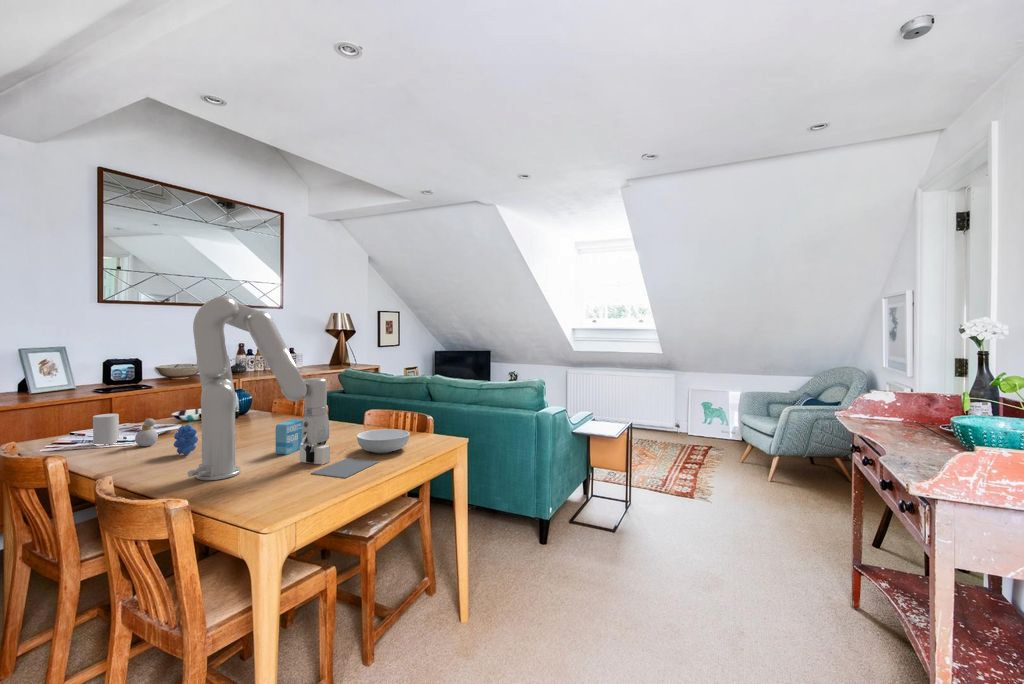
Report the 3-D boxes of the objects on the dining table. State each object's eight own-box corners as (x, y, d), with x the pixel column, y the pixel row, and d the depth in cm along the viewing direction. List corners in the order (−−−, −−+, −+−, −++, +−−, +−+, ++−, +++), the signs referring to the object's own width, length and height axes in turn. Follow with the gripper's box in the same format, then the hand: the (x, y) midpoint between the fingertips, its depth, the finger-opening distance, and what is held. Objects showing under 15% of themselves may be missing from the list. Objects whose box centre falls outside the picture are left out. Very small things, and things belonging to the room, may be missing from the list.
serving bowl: (420, 448, 194) (420, 432, 193) (382, 460, 176) (382, 442, 175) (384, 441, 204) (384, 426, 204) (345, 452, 186) (345, 435, 186)
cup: (122, 443, 196) (121, 415, 196) (97, 447, 189) (97, 418, 189) (114, 440, 200) (114, 412, 200) (90, 444, 193) (89, 415, 193)
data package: (285, 455, 180) (285, 425, 180) (275, 455, 181) (275, 424, 181) (304, 448, 192) (304, 419, 192) (294, 447, 193) (294, 418, 193)
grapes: (207, 453, 181) (207, 423, 181) (190, 458, 175) (190, 426, 175) (186, 450, 185) (186, 421, 185) (168, 455, 179) (168, 424, 178)
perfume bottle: (149, 443, 197) (148, 414, 196) (166, 444, 194) (166, 416, 194) (130, 447, 190) (130, 418, 189) (148, 449, 187) (148, 419, 187)
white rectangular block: (322, 464, 168) (322, 448, 168) (299, 461, 171) (299, 445, 171) (329, 461, 172) (330, 445, 172) (307, 458, 175) (307, 443, 175)
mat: (345, 478, 154) (345, 477, 154) (310, 473, 158) (310, 473, 158) (379, 462, 173) (379, 461, 173) (347, 458, 177) (347, 457, 177)
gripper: (307, 416, 162) (306, 467, 163) (338, 408, 178) (338, 456, 179) (290, 414, 165) (289, 465, 165) (322, 407, 181) (321, 454, 181)
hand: (314, 460), depth 172 cm, fingers closed on white rectangular block, 4 cm apart
